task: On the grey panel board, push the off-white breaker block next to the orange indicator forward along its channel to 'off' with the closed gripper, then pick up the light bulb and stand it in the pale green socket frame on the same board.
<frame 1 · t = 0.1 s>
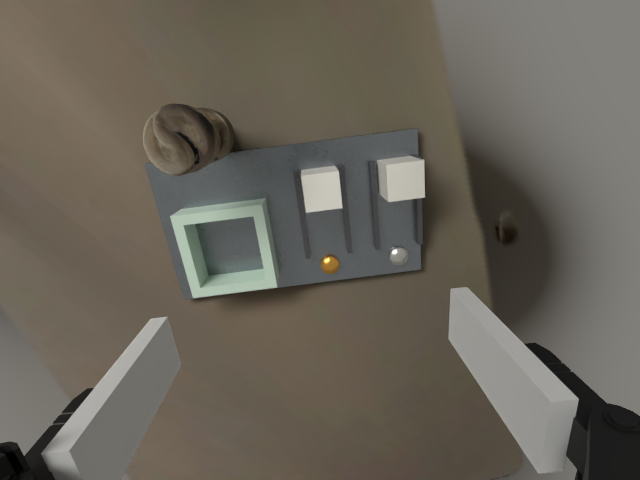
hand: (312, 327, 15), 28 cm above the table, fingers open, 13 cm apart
panel: (292, 217, 42), on the table
breaker a: (319, 182, 41), resting on panel
breaker b: (391, 173, 41), resting on panel
socket: (234, 240, 43), resting on panel
light bulb: (220, 135, 39), on the table
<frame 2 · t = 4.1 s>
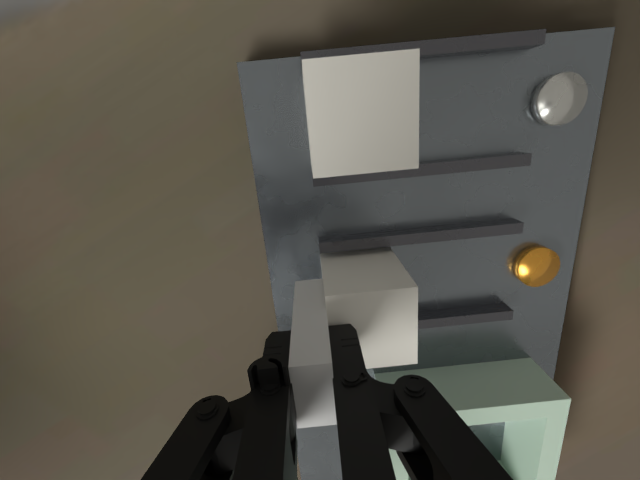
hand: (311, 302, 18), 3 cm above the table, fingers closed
panel: (417, 321, 22), on the table
breaker a: (353, 272, 21), resting on panel, touching gripper
breaker b: (344, 120, 18), resting on panel
socket: (443, 411, 25), resting on panel
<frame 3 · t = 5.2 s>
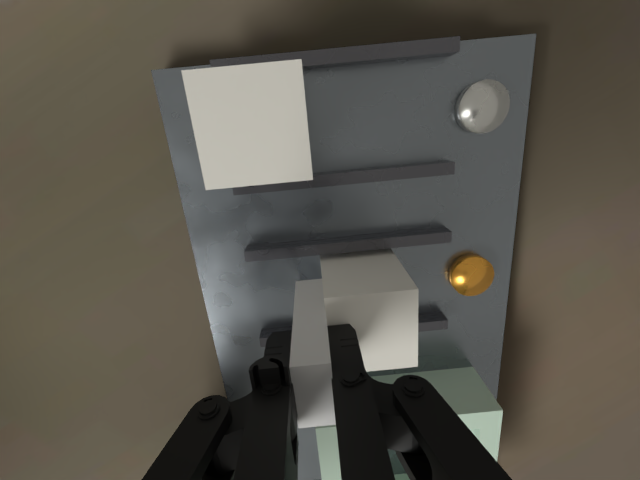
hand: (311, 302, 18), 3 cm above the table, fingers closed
panel: (358, 329, 22), on the table
breaker a: (354, 273, 20), resting on panel, touching gripper
breaker b: (270, 127, 18), resting on panel
socket: (390, 419, 24), resting on panel
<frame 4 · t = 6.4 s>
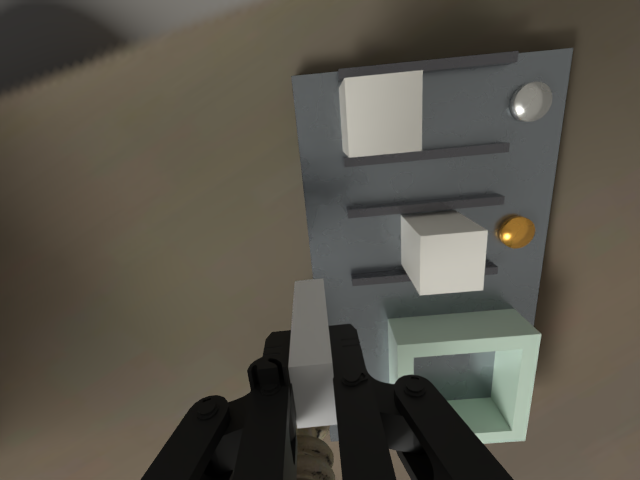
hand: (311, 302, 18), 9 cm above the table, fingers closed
panel: (422, 278, 27), on the table
breaker a: (422, 232, 26), resting on panel
breaker b: (367, 118, 23), resting on panel
socket: (443, 356, 30), resting on panel
light bulb: (300, 356, 30), on the table
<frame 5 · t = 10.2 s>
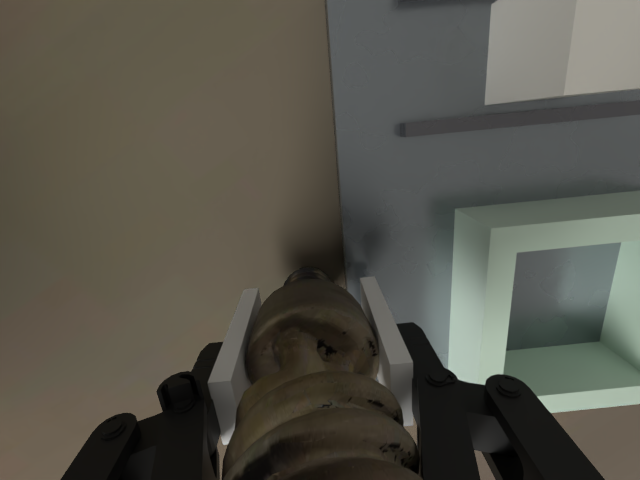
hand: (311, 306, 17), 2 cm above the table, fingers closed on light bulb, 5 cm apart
panel: (508, 144, 17), on the table
breaker a: (514, 58, 16), resting on panel
socket: (528, 279, 20), resting on panel
light bulb: (311, 284, 20), on the table, touching gripper
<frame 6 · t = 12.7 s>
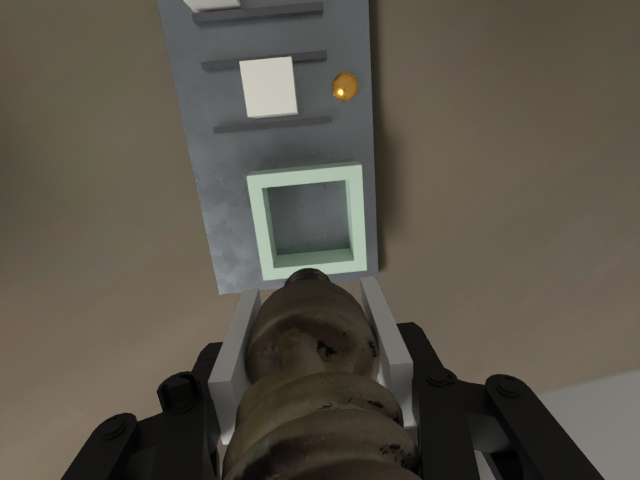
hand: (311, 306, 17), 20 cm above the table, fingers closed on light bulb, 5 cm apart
panel: (281, 138, 33), on the table
breaker a: (276, 94, 32), resting on panel
socket: (309, 213, 36), resting on panel
light bulb: (311, 285, 20), point 17 cm above the table, touching gripper
when the fingers open (5 cm above the table, at t = 15.5 s): light bulb drops 2 cm, resting on panel.
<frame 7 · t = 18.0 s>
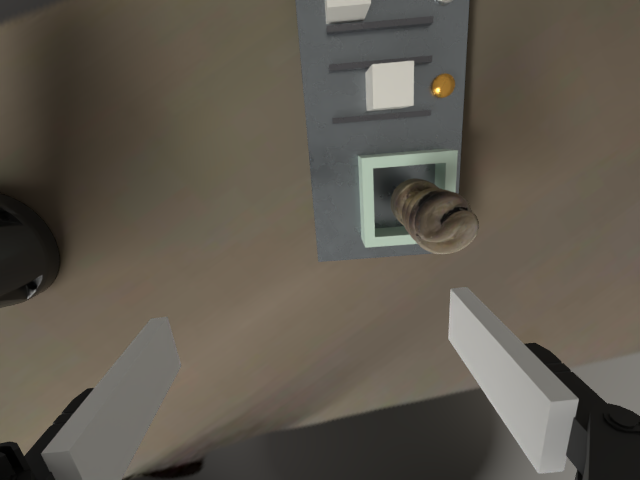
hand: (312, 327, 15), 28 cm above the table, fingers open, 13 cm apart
panel: (382, 128, 39), on the table
breaker a: (381, 92, 38), resting on panel
breaker b: (343, 4, 35), resting on panel
socket: (399, 193, 42), resting on panel
light bulb: (403, 194, 41), point 1 cm above the table, touching panel
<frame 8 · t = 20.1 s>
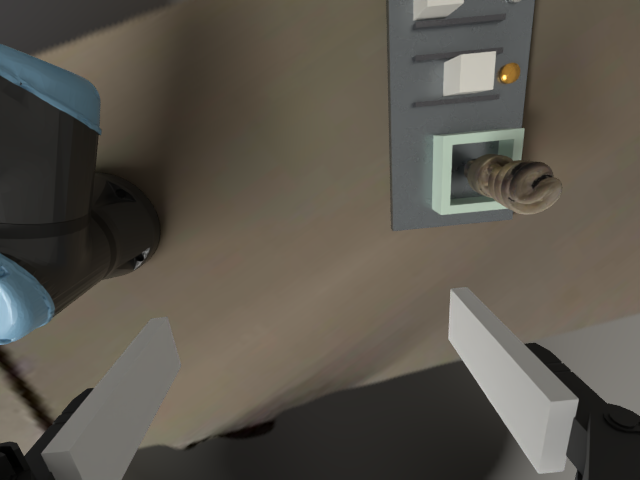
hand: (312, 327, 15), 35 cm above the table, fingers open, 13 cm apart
panel: (453, 111, 45), on the table
breaker a: (454, 79, 44), resting on panel
breaker b: (426, 3, 41), resting on panel
socket: (465, 169, 48), resting on panel
light bulb: (469, 169, 47), point 1 cm above the table, touching panel
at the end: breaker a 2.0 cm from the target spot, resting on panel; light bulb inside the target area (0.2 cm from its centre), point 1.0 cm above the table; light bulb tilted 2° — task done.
